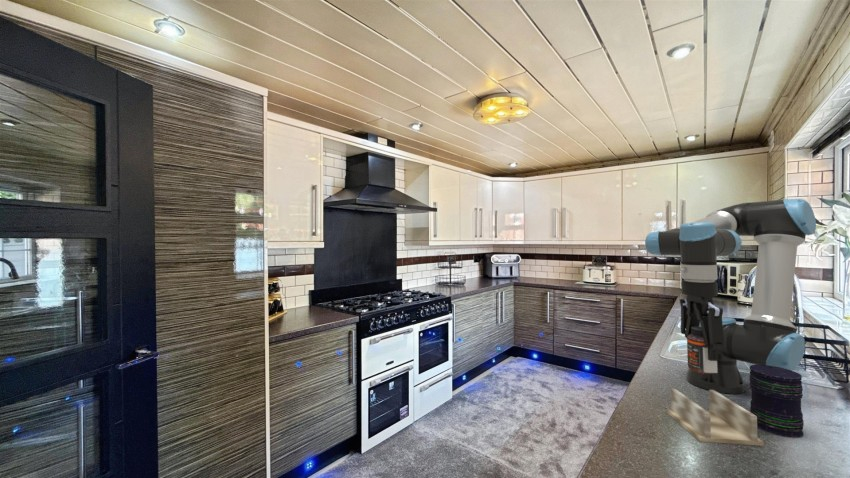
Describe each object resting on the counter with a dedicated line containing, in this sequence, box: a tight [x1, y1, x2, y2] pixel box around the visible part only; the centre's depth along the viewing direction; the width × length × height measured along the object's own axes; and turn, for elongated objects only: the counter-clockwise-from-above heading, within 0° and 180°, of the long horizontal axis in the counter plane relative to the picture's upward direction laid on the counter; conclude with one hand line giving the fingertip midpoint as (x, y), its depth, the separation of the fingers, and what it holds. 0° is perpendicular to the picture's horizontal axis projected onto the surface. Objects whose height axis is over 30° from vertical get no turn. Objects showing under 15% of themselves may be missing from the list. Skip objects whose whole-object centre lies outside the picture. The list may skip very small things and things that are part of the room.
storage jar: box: [748, 364, 805, 439], centre depth 90 cm, size 10×10×15 cm
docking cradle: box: [665, 387, 765, 447], centre depth 90 cm, size 15×14×7 cm
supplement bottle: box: [686, 326, 714, 374], centre depth 90 cm, size 6×6×11 cm
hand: (701, 367), depth 90 cm, fingers closed on supplement bottle, 6 cm apart
